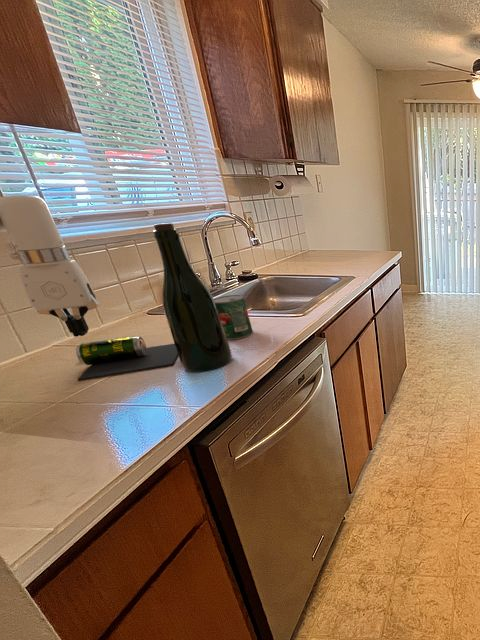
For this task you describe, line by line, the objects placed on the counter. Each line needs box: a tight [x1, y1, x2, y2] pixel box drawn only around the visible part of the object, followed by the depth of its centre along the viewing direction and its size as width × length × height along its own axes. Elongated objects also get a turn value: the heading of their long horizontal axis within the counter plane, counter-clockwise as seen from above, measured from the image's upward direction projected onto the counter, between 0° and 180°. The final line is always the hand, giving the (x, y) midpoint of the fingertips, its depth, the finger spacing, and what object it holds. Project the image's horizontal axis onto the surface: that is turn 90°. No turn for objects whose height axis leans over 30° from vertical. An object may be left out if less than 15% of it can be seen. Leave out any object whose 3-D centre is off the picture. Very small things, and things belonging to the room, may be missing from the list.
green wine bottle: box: [153, 222, 233, 373], centre depth 91 cm, size 10×10×33 cm
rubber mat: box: [77, 343, 179, 382], centre depth 101 cm, size 18×16×1 cm
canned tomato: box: [213, 294, 254, 341], centre depth 114 cm, size 8×8×11 cm
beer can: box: [75, 335, 147, 366], centre depth 99 cm, size 5×5×12 cm
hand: (81, 334), depth 95 cm, fingers closed
